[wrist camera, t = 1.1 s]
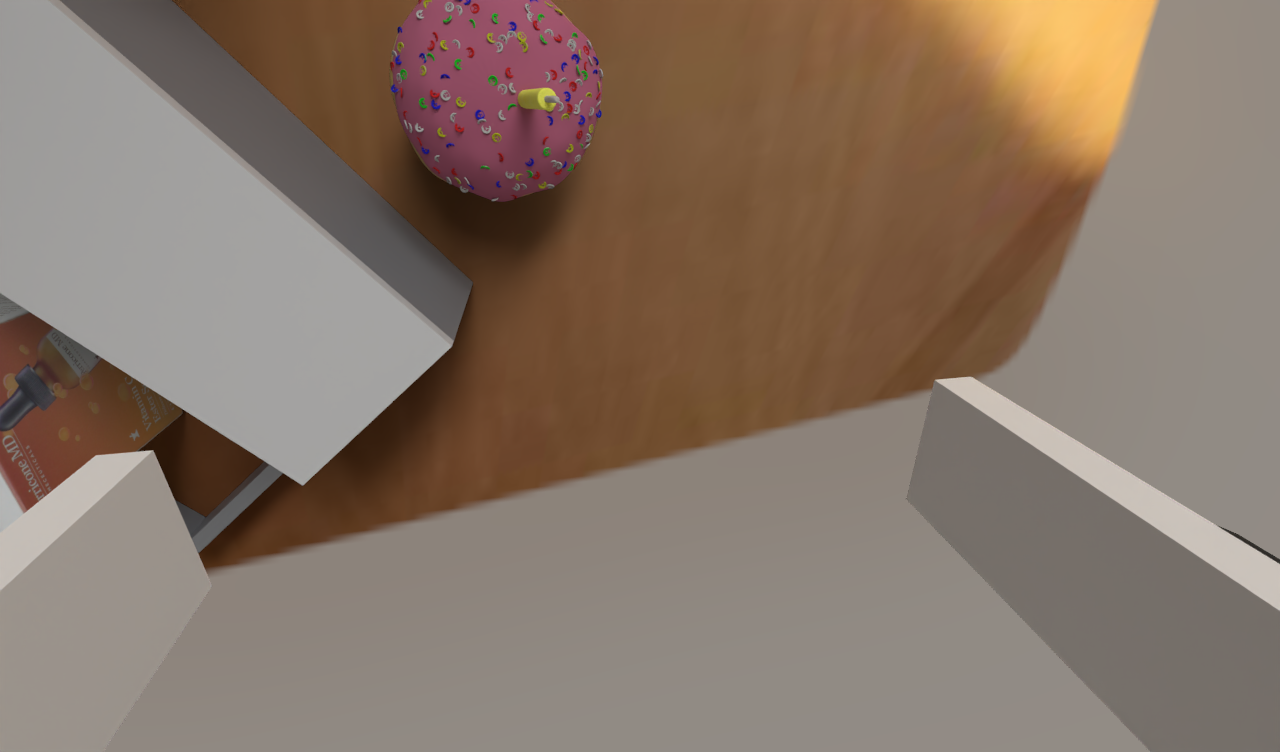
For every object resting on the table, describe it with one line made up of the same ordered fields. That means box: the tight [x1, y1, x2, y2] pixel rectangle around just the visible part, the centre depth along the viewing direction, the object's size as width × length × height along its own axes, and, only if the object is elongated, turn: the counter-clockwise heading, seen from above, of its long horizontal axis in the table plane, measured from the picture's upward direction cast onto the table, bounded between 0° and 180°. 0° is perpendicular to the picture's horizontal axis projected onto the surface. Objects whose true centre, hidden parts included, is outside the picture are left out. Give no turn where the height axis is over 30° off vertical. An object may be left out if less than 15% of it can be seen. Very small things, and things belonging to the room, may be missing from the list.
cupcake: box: [389, 0, 603, 202], centre depth 23 cm, size 9×8×12 cm
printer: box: [0, 0, 473, 553], centre depth 24 cm, size 21×23×10 cm
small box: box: [0, 293, 183, 533], centre depth 25 cm, size 8×6×10 cm
